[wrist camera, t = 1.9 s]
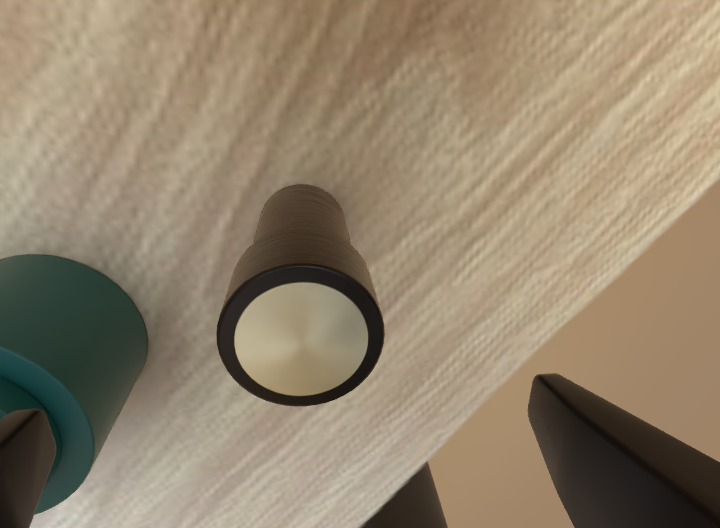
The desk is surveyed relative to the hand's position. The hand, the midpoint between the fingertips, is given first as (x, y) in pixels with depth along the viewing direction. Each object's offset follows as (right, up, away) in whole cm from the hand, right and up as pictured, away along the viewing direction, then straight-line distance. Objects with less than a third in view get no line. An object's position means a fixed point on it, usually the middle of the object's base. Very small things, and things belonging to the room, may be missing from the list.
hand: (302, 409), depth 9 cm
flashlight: (-1, +4, +9) cm, 10 cm away
